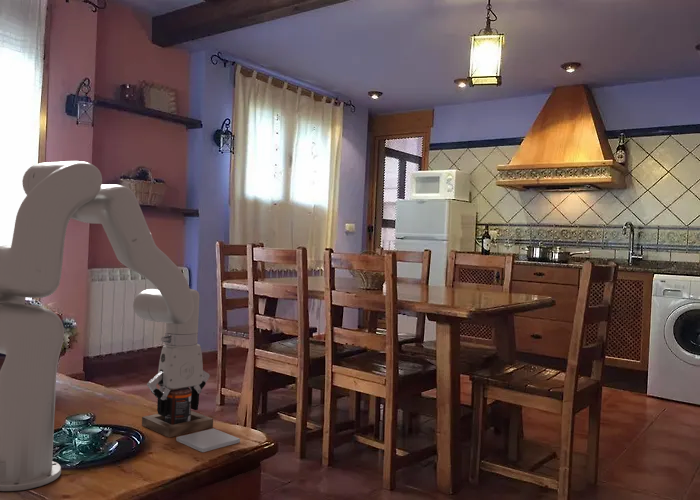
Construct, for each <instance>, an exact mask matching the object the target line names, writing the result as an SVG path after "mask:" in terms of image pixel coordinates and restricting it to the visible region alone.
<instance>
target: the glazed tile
mask: <svg viewBox="0 0 700 500" xmlns="http://www.w3.org/2000/svg"><path fill="white" fill-rule="evenodd" d="M175 437H176V442H178V443H180V444H183V445H185V446H188V447H189V448H192V449H194V450H196V451H199V452H200V453H206V452H210V451H212V450H213V451H214V450H216V449H219V448H220V449H221V448H224V447H228V446H231V445H235V444H239V443H241V438H239V437H236V436H234V435H231V434H229V433H226V432H224V431H221V430H219V429H217V428H214V427H212V428H208V429H203V430H199V431H195V432H191V433H189V434H188V433H187V434H183V435H178V436H175Z"/></svg>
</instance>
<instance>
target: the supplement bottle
mask: <svg viewBox="0 0 700 500" xmlns="http://www.w3.org/2000/svg"><path fill="white" fill-rule="evenodd" d="M166 399H167V400H168V415H167V416H165V422H167V423H169V424H171V425H174V424H179V423H183V422H188V421H190V416H191V411H192V409H191V389H190V387H187V388H181V389H175V390H170V392H169V394H168V395H167V397H166Z"/></svg>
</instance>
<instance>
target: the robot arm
mask: <svg viewBox="0 0 700 500" xmlns="http://www.w3.org/2000/svg"><path fill="white" fill-rule="evenodd" d="M22 189H23V191H24V194H26V196H25V198H24V199H23V200H22V202H21V204H20V206H19V208H18V210H17V212H16V213H17V214H16V217H15V222H14V228H13V232H12V233H13V234H12V240H11V244H10V245H9V244H7V245H2V246H0V354H1V355H5V358H4V361H3V364H2V365H1V368H0V492H18V491H25V490H30V489H35V488H39V487H42V486H44V485H47V484H51V483H52V482H54V481H55V480H57V479H58V478H59V477H60V476H61V474H62V466H61V465H60V464H59V463H58V462H56V461H53V454H54V434H55V433H54V432H55V415H56V414H55V412H56V394H57V393H56V391H57V390H56V387H57V372H58V365H59V359H60V355H61V352H62V351H61V350H62V348H63V344H64V339H65V337H64V336H65V328H64V324H63V321H62V319H61V318H60V316H59V315H58V314H56V312H54V311H53V310H51V309H49V308H46V307H43V306H39V305H32V304H27V303H26V298H30V299H42V298H47V297H50V296H52V294H54V293H56V291H57V290H58V288H59V286H60V283H61V279H62V273H63V261H64V253H65V252H64V249H65V240H66V234H67V228H68V226H69V223H70V221H71V219H72V220H75V221H78V222H81V223H84V224H85V223H86V224H94V225H95V224H98V225H102V228H103V230H104V233H105V234H106V236H107V239H108V241H109V243H110V245H111V247H112V249H113V250H112V251H113V252H114V254H115V257H116V259H117V261H118V262H120V263H121V264H122V265H123V266H125V267H126V268H128V269H130V270H131V271H133V272H135V273H136V274H138V275H141V276H142V277H143V278H145V279H147V280H148V281H149V282H151V283H152V284H153V286H154V287H155V288H147V289H144V290H142V291H140V292H139V293H138V294H137V295H136V296H135V297H134V299H133V305H132V307H133V312H134V313H135V314H136V316H137V317H138V318H140V319H142V320H145V321H148V322H149V321H150V322H157V323H164V324H165V333H164V336H161V337H160V342H161V343H164V345H163V346H162V348H161V353H160V356H159V362H158V370H157V374H155V376H154V377H152V378H151V379H150V380H149V381H148V382H147V383H146V386H147V387H148V388H149V390H150V391H151V394H153V396H154V397H155V398H157V406H156V407H157V408H156V411H157V414H159V415H161V416H164V417H165V416H167V415H168V400H167V399H166V397H167V395H168V394H169V392H170V390H175V389H181V388H187V387H188V388H190V389H191V410H192V411H198V409H199V405H200V404H199V402H200V394H201V393H202V392H203V391H202V390H203V389H204V387H205V386H206V384H207V382H208V380H209V379H210V377H211V375H210V373H208V372H206V371H205V370H204V369H203V368H204V366H203V365H204V364H203V353H202V347H201V344H199V343H198V336H199V314H200V293H199V291H198V290H196V289H193V288H190V285H189V284H188V281H187V278H186V277H185V275H184V273H183V272H182V271H181V269H180V268H179V267H178V265H177V264H175V263H174V262H173V261H172V260H171V258H170V257H169V256H168V255H167V254H166V253H165V252H163V251H162V250H161V249H160V248H159V247H158V245H156V242H155V240H154V238H153V235H152V233H151V230H150V228H149V226H148V224H147V221H146V219H145V215H144V214H143V211H142V208H141V206H140V203H139V201H138V199H137V196H136V195H135V193H134V191H133V190H131V189H130V187H128V186H125V185H122V184H110V183H109V184H103V177H102V172H101V171H100V169H99V168H98V167H97V166H95V165H94V164H92V163H90V162H87V161H82V160H81V161H79V160H65V161H51V162H50V161H49V162H48V161H47V162H40V163H36V164H34V165H33V164H32V166H30V167H29V168H28V169H27V170H26V171H25V172H24V174H23V177H22ZM157 385H158V386H159V388H158V387H157Z"/></svg>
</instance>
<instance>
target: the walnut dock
mask: <svg viewBox="0 0 700 500" xmlns="http://www.w3.org/2000/svg"><path fill="white" fill-rule="evenodd" d="M141 426H143V427H144V428H148V429H149V430H152V431H154V432H156V433H158V434H161V435H163V436H165V437H166V438H173V437H178V436H182V435H187V434H188V433H189V434H191V433H195V432H199V431H204V430H208V429H212V428H214V418H212V417H209V416H207V415H204V414H201V413H198V412H196V411H195V410H191V416H190V421H188V422H183V423H179V424H174V425H171V424H169V423H167V422H165V417H164V416H161V415H159V414H158V413H154V414H150V415H144V416H142V417H141Z"/></svg>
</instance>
